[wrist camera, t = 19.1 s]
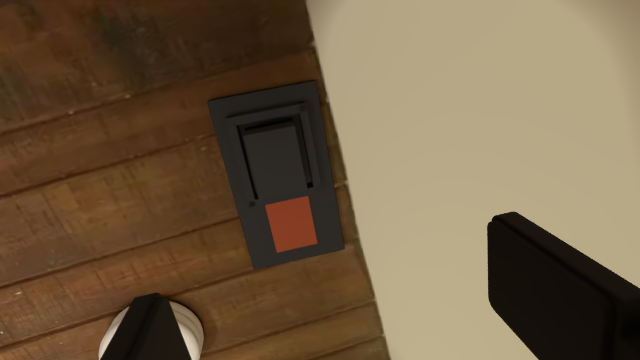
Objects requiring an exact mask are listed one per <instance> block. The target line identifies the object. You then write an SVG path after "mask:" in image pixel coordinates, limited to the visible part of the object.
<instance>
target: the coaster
mask: <svg viewBox="0 0 640 360" xmlns="http://www.w3.org/2000/svg"><path fill="white" fill-rule="evenodd" d="M169 302H170V305H171V307H172V310H173V312H174V315H175V318H176V320H177V323H178V325H179V328H180V330H181V333H182V336H183V338H184V341H185V343H186V346H187V348H188V351H189V354H190V356H191V359H192V360H200V354H201V351H202V346H203V341H204V334H203V328H202V326H201V323H200V321H199V319H198V318H197V317H196V316H195V315H194V314H193V313H192V312H191V311H190V310H189V309H187V308H186V307H184V306H182V305H180V304H178V303H175V302H171V301H169ZM129 307H130V306H129ZM129 307H127V308H126V309H124V310H123V311H122V312H121V313H119V314H118V315H117V317H116V318H115V319H114V320H113V322H112V324H111V326H110V327H109V329H108V331H107V333H106V334H105V336H104V337H103V339H102V342H101V344H100V348H99V360H100V359H101V357H102V355H103V353H104V351H105V350H106V348H107V346H108V344H109V342H110V341H111V339H112V337H113V335H114V333H115V332H116V330H117V328H118V326H119V324H120V323H121V321H122V319H123V317H124V315H125V314H126V312H127V310H128V308H129Z"/></svg>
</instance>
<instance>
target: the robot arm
mask: <svg viewBox="0 0 640 360" xmlns="http://www.w3.org/2000/svg"><path fill="white" fill-rule="evenodd" d="M487 232H488V233H487V236H488V297H489V302H490V304H491V306H492V308H493V309H494V310H495V312H496V313H497V314H498V315H499V316H500V317H501V318H502V319H503V321H504V322H505V323H506V324H507V325H508V326H509V327H510V328H511V329H512V330H513V332H514V333H515V334H516V335H517V336H518V337H519V338H520V339H521V340H522V342H523V343H524V344H525V345H526V346H527V347H528V348H529V349H530V351H531V352H532V353H533V354H534V355H535V356H536V357H537V358H538V359H539V360H640V288H638V287H637V286H635V285H633V284H632V283H630V282H628V281H627V280H625V279H624V278H622V277H620V276H619V275H617V274H615V273H614V272H612V271H611V270H609V269H607V268H606V267H604V266H602V265H601V264H599V263H598V262H596V261H594V260H593V259H591V258H590V257H588V256H586V255H585V254H583V253H581V252H580V251H578V250H577V249H575V248H573V247H572V246H570V245H568V244H567V243H565V242H564V241H562V240H560V239H559V238H557V237H556V236H554V235H552V234H551V233H549V232H548V231H546V230H544V229H543V228H541V227H539V226H538V225H536V224H535V223H533V222H531V221H529V220H528V219H526V218H525V217H523V216H522V215H520V214H518V213H517V212H509V213H504V214H500V215H496V216H494V217H493V218H492V222H489V223H488V226H487ZM100 360H192V359H191V356H190V354H189V351H188V348H187V346H186V343H185V341H184V338H183V336H182V333H181V330H180V328H179V325H178V323H177V320H176V318H175V315H174V312H173V310H172V307H171V305H170V302H169V300H168V298H167V297H165V296H164V297H161V295H160V294H159V293H153V294H149V295H145V296H140V297H136V298H135V299H134V300H133V301H132V303H131V305H130V307H129V308H128V310H127V312H126V314H125V315H124V317H123V319H122V321H121V323H120V324H119V326H118V328H117V330H116V332H115V333H114V335H113V337H112V339H111V341H110V342H109V344H108V346H107V348H106V350H105V351H104V353H103V355H102V357H101V359H100Z"/></svg>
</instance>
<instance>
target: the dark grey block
mask: <svg viewBox="0 0 640 360" xmlns="http://www.w3.org/2000/svg"><path fill="white" fill-rule="evenodd" d="M243 140H244V144H245V148H246V152H247V155H248V159H249V163H250V167H251V171H252V175H253V179H254V183H255V187H256V191H257V195H258V199H259V200H262V199H267V198H272V197H276V196H281V195H286V194H291V193H295V192H300V191H305V190H308V188H307V183H306V178H305V173H304V168H303V163H302V158H301V153H300V148H299V143H298V138H297V133H296V128H295V125H294V122H293V120H292V119H290V120H285V121H280V122H275V123H270V124H265V125H260V126H255V127H250V128H245V131H244V134H243Z"/></svg>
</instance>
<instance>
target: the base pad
mask: <svg viewBox="0 0 640 360" xmlns="http://www.w3.org/2000/svg"><path fill="white" fill-rule="evenodd" d="M208 106H209V109H210V113H211V117H212V120H213V124H214V127H215V131H216V135H217V138H218V142H219V145H220V149H221V153H222V156H223V160H224V163H225V167H226V171H227V174H228V178H229V181H230V185H231V189H232V192H233V196H234V199H235V203H236V207H237V210H238V214H239V217H240V221H241V225H242V228H243V232H244V235H245V239H246V243H247V246H248V250H249V253H250V257H251V260H252V264H253V268H254V270H255V269H260V268H264V267H269V266H273V265H277V264H282V263H286V262H290V261H295V260H299V259H304V258H308V257H312V256H317V255H321V254H326V253H330V252H334V251H339V250H343V249H345V247H344V241H343V235H342V230H341V224H340V218H339V212H338V206H337V200H336V195H335V189H334V183H333V177H332V171H331V166H330V160H329V154H328V148H327V142H326V137H325V131H324V125H323V119H322V113H321V108H320V102H319V96H318V90H317V84H316V81H315V80H313V81H307V82H302V83H297V84H292V85H286V86H281V87H276V88H271V89H266V90H260V91H255V92H250V93H245V94H240V95H234V96H229V97H224V98H219V99H213V100H209V101H208ZM290 119H292V120H293V122H294V125H295V128H296V133H297V138H298V143H299V148H300V153H301V158H302V163H303V168H304V173H305V178H306V183H307V188H308V190H305V191H300V192H295V193H291V194H286V195H281V196H276V197H272V198H267V199H262V200H259V199H258V195H257V191H256V187H255V183H254V179H253V175H252V171H251V167H250V163H249V159H248V155H247V152H246V148H245V144H244V140H243V134H244V131H245V128H250V127H255V126H260V125H265V124H270V123H275V122H280V121H285V120H290Z"/></svg>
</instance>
